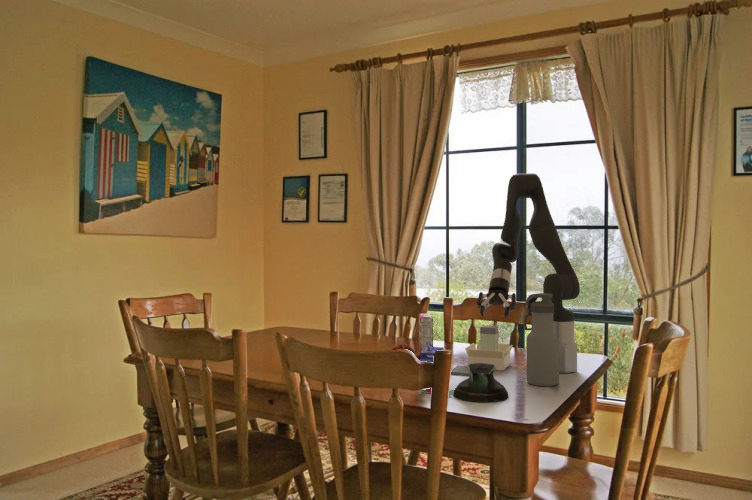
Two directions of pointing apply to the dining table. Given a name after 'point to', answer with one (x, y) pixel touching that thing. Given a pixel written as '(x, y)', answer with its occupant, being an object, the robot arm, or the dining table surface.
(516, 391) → the dining table surface
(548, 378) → the water bottle
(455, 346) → the dining table surface
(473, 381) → the dark green flared pedestal
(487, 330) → the sage box
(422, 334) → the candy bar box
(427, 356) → the ink cartridge box
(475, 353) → the cream storage bin
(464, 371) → the felt mat
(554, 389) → the dining table surface
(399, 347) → the dragon fruit
